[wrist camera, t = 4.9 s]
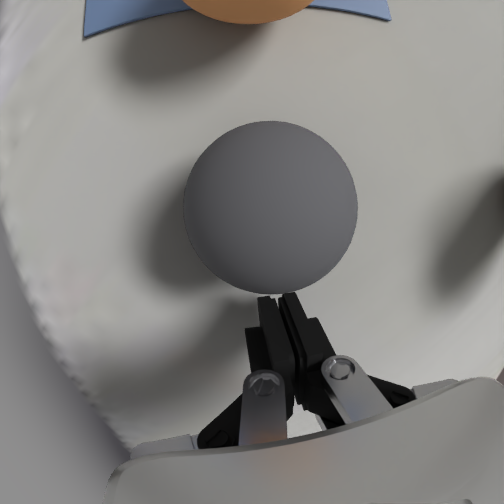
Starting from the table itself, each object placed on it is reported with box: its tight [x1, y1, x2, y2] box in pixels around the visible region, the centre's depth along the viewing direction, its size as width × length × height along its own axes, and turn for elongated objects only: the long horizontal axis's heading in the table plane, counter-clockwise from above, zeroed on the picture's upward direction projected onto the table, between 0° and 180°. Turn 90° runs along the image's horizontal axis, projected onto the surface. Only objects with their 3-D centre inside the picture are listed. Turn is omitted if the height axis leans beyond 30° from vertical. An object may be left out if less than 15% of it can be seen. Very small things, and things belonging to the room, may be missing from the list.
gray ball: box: [183, 121, 358, 294], centre depth 9 cm, size 6×6×6 cm
